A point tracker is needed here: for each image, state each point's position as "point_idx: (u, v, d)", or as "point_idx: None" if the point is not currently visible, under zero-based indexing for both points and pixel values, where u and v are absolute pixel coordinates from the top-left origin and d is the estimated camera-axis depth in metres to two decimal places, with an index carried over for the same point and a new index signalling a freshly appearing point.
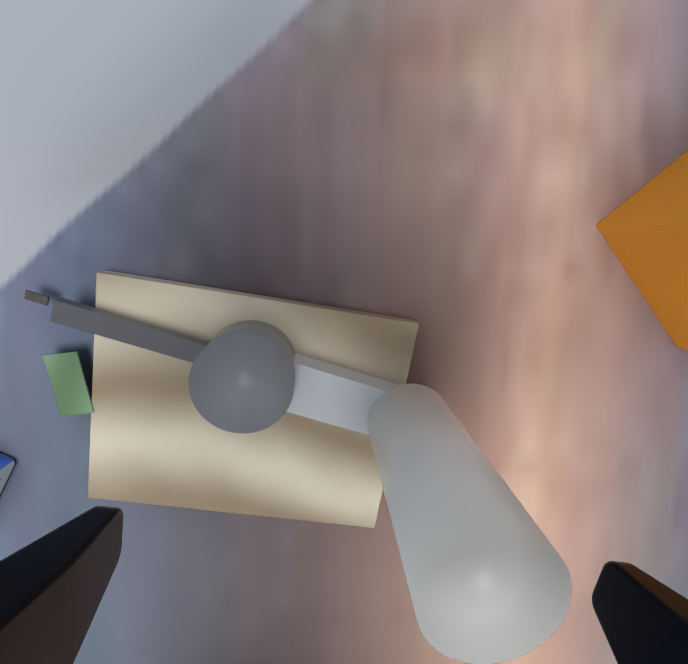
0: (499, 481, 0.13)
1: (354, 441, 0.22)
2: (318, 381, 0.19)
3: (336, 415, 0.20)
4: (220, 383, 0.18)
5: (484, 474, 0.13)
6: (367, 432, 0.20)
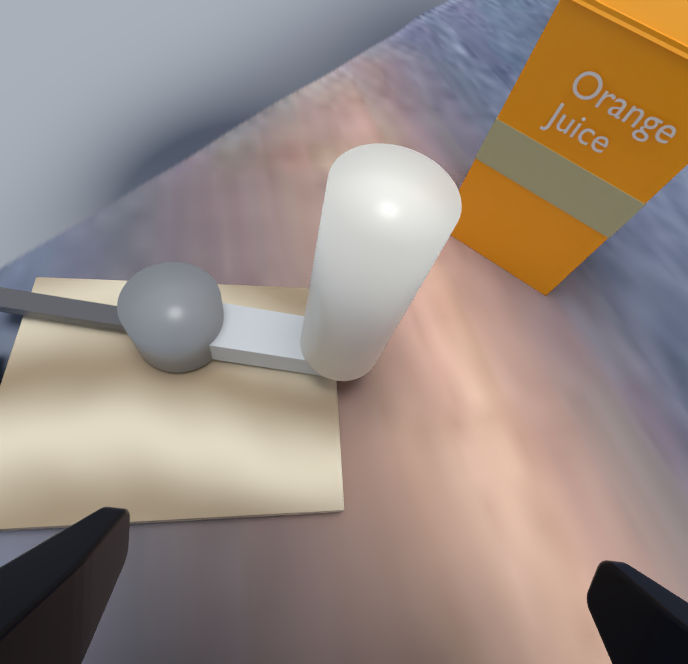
0: None
1: (296, 401, 0.21)
2: (246, 315, 0.21)
3: (268, 344, 0.20)
4: (149, 300, 0.19)
5: None
6: (303, 357, 0.20)
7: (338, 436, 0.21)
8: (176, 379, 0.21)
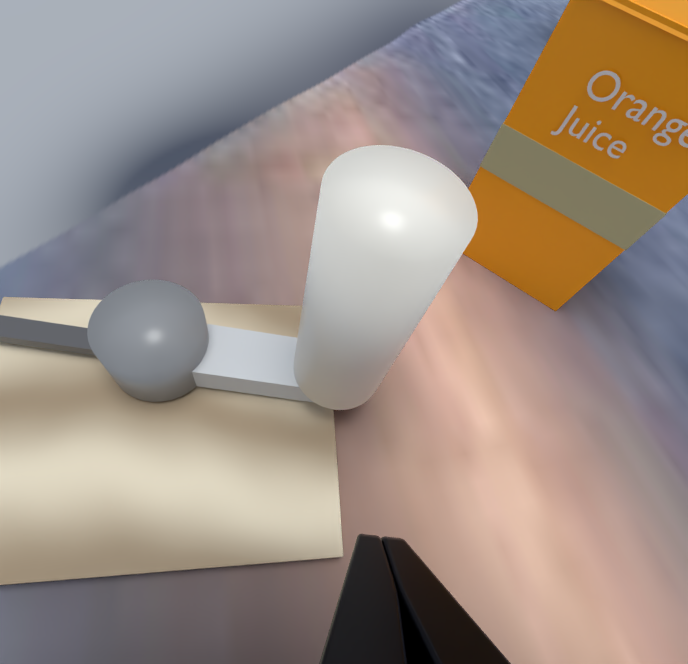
0: None
1: (289, 431, 0.19)
2: (233, 338, 0.19)
3: (258, 370, 0.18)
4: (125, 323, 0.17)
5: None
6: (296, 384, 0.18)
7: (336, 471, 0.19)
8: (156, 409, 0.19)
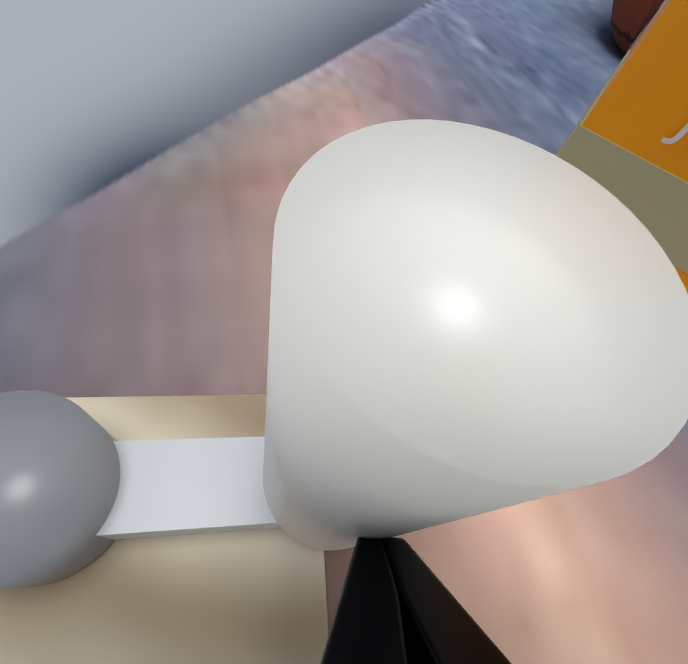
0: None
1: (254, 622, 0.12)
2: (162, 457, 0.12)
3: (208, 506, 0.11)
4: None
5: None
6: (272, 518, 0.12)
7: None
8: (33, 596, 0.11)
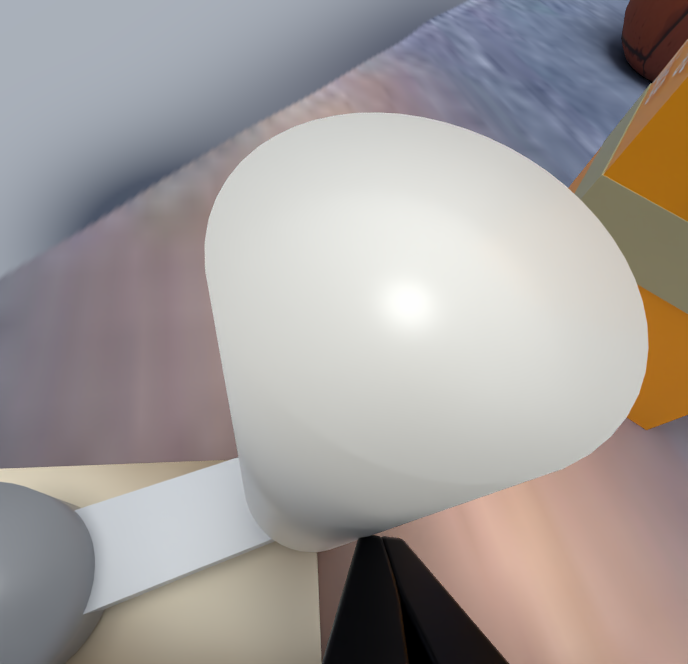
0: None
1: None
2: (134, 511, 0.11)
3: (197, 545, 0.11)
4: None
5: None
6: (265, 536, 0.11)
7: None
8: None
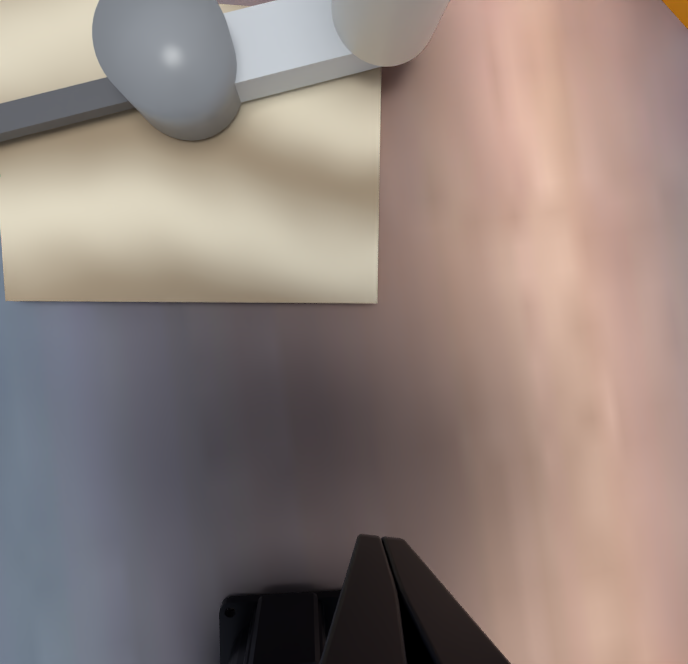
0: None
1: (331, 182, 0.18)
2: (255, 21, 0.15)
3: (301, 51, 0.16)
4: (137, 49, 0.14)
5: None
6: (348, 51, 0.16)
7: (377, 226, 0.18)
8: (190, 149, 0.17)
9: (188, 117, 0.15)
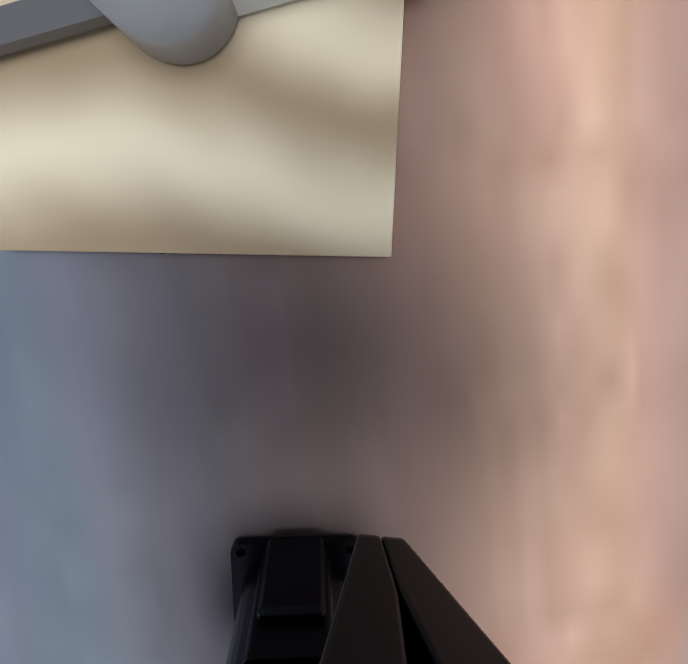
0: None
1: (343, 116, 0.16)
2: None
3: None
4: None
5: None
6: None
7: (393, 170, 0.16)
8: (181, 75, 0.15)
9: (175, 37, 0.13)
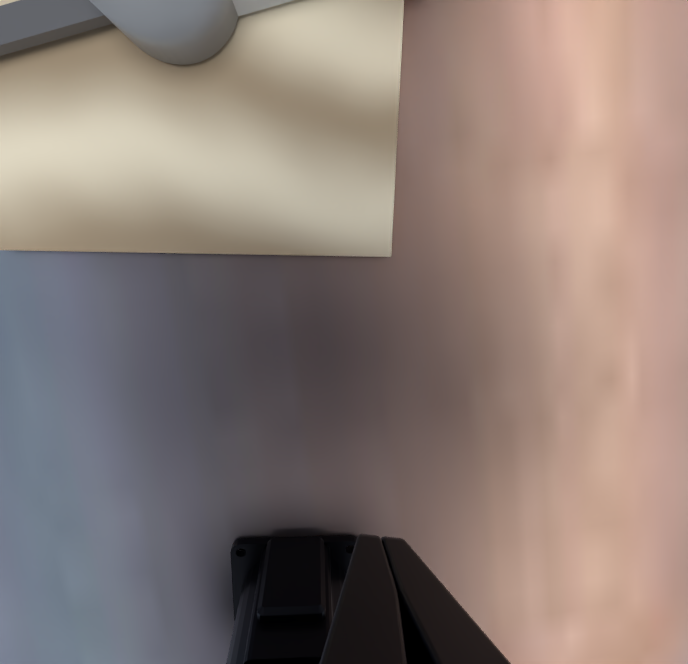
0: None
1: (343, 116, 0.16)
2: None
3: None
4: None
5: None
6: None
7: (393, 170, 0.16)
8: (181, 75, 0.15)
9: (175, 37, 0.13)
